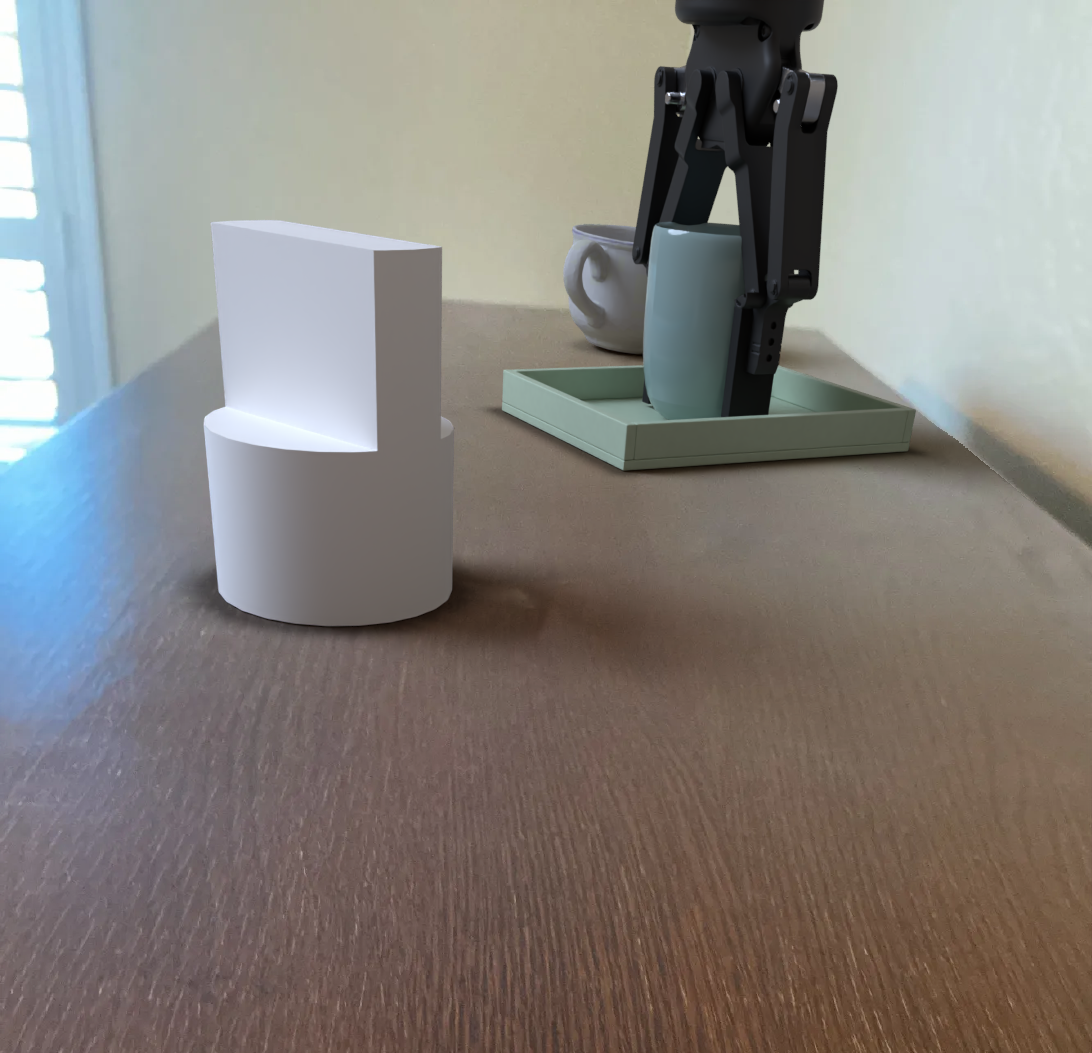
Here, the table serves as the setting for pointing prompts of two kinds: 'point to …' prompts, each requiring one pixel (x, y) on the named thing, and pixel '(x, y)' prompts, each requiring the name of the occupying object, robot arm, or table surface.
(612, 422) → the tray
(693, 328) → the cup
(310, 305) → the cylinder with rectangular tab
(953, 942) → the table surface
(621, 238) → the teacup
